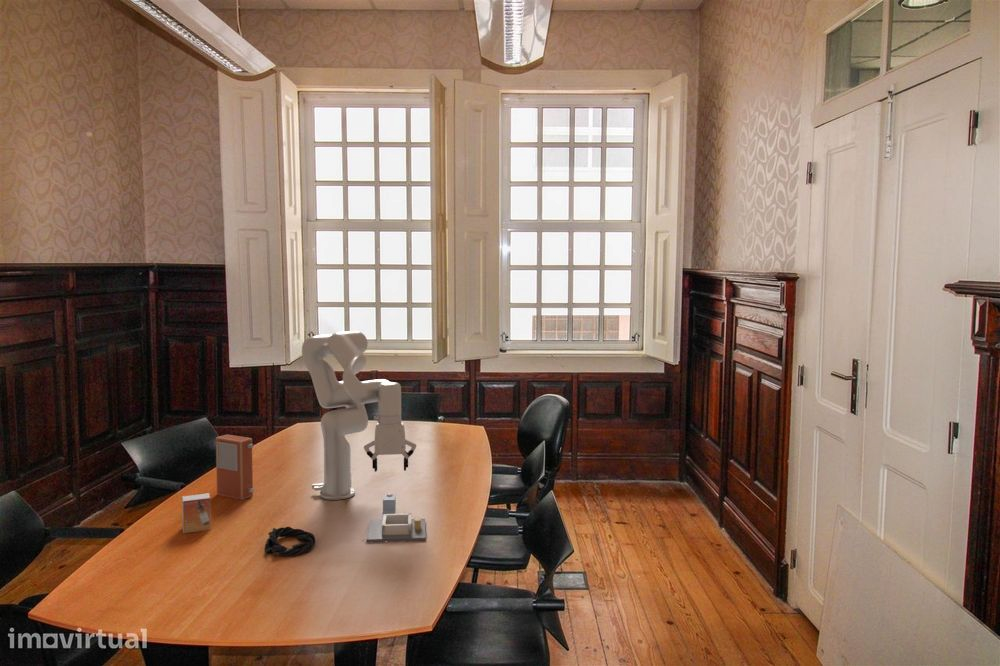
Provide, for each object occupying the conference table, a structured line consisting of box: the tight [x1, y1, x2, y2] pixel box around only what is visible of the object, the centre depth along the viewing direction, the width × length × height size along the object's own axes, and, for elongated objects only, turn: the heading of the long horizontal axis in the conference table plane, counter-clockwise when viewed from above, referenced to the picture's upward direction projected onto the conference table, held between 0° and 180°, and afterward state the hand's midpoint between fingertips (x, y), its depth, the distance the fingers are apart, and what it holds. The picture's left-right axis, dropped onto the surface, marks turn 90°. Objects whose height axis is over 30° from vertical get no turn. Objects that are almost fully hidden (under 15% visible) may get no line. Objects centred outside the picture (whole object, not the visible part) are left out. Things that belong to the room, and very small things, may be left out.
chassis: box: [365, 512, 427, 543], centre depth 209 cm, size 18×16×4 cm
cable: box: [264, 526, 316, 558], centre depth 197 cm, size 17×14×4 cm
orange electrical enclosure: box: [215, 434, 255, 500], centre depth 240 cm, size 21×7×15 cm
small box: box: [181, 492, 212, 534], centre depth 208 cm, size 8×6×10 cm
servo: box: [382, 493, 397, 516], centre depth 221 cm, size 4×10×7 cm, turn 7°
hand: (390, 470), depth 220 cm, fingers open, 9 cm apart
